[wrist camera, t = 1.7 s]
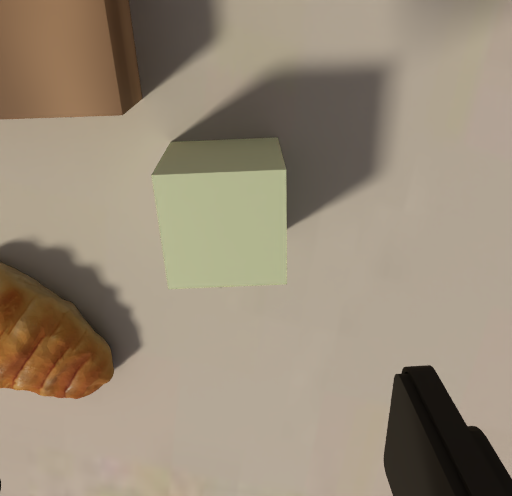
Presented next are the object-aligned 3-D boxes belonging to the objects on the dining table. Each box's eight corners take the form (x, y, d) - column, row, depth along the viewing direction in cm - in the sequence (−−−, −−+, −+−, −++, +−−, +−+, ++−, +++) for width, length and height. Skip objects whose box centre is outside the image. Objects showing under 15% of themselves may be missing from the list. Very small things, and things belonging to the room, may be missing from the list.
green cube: (277, 136, 21) (286, 169, 17) (278, 233, 23) (286, 284, 19) (170, 141, 21) (151, 175, 17) (182, 237, 23) (168, 289, 19)
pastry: (142, 329, 26) (127, 376, 23) (87, 397, 29) (66, 448, 25) (-14, 243, 24) (-58, 282, 20) (-60, 326, 26) (-106, 373, 23)
